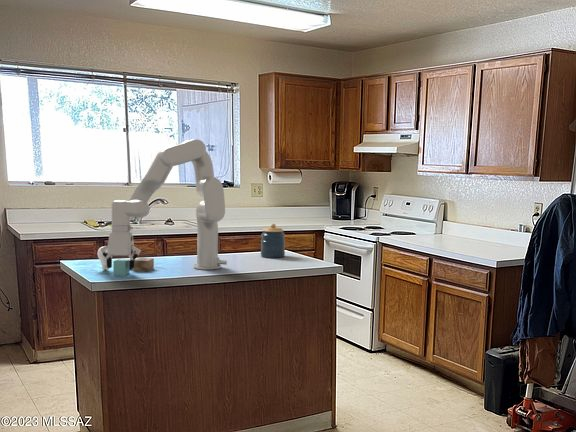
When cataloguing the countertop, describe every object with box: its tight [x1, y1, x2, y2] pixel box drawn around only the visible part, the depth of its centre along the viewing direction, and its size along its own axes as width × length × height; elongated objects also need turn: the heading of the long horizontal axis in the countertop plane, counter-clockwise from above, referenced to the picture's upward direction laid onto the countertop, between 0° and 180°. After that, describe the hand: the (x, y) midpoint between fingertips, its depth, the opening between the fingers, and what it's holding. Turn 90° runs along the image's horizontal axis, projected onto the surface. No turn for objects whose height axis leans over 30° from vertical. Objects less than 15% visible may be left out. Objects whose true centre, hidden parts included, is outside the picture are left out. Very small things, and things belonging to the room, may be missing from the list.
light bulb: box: [97, 245, 114, 272], centre depth 234 cm, size 7×7×11 cm
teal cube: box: [112, 258, 130, 276], centre depth 227 cm, size 5×5×6 cm
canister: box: [260, 223, 286, 259], centre depth 281 cm, size 13×13×18 cm
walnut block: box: [132, 257, 155, 273], centre depth 238 cm, size 7×7×5 cm
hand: (120, 268), depth 227 cm, fingers open, 9 cm apart
